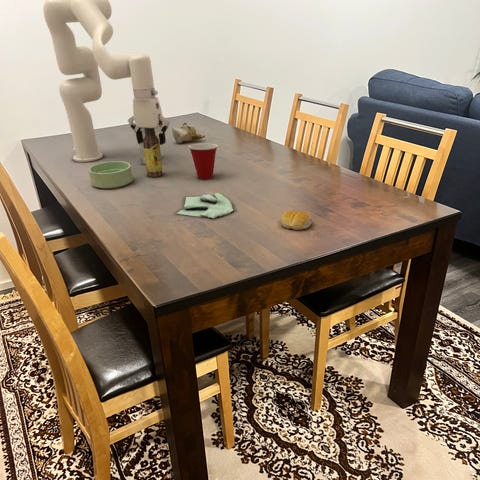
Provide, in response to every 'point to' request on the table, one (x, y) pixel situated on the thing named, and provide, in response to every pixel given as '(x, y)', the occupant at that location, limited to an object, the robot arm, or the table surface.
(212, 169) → the plastic cup
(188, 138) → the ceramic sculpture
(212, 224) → the table surface
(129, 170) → the bowl
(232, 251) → the table surface
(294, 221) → the bread roll
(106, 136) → the table surface
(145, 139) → the sauce bottle
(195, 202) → the cloth
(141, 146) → the candy bar box
